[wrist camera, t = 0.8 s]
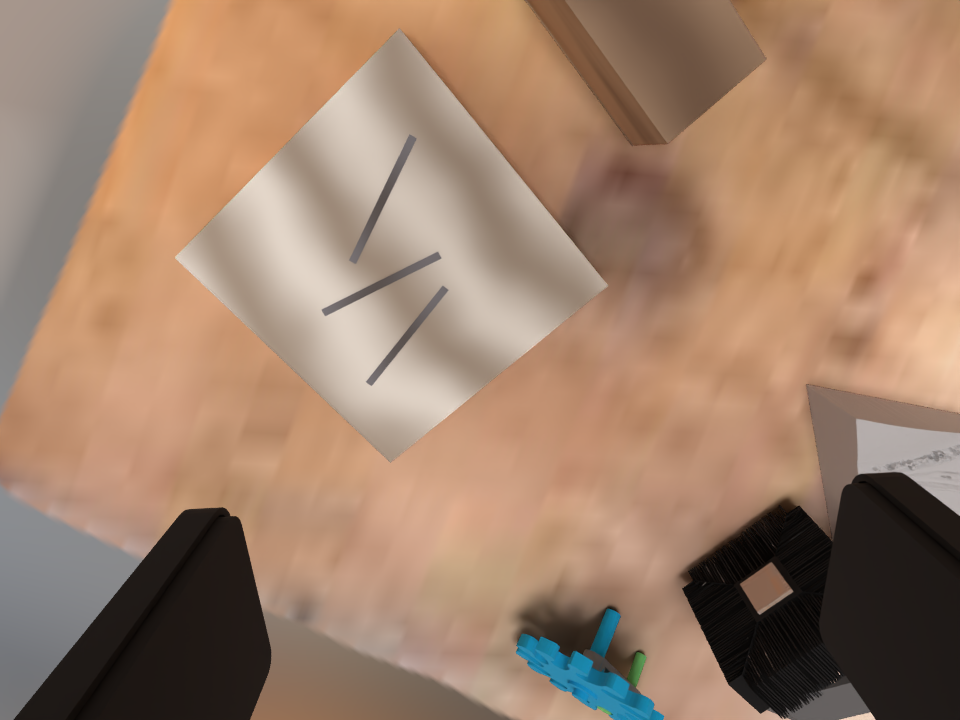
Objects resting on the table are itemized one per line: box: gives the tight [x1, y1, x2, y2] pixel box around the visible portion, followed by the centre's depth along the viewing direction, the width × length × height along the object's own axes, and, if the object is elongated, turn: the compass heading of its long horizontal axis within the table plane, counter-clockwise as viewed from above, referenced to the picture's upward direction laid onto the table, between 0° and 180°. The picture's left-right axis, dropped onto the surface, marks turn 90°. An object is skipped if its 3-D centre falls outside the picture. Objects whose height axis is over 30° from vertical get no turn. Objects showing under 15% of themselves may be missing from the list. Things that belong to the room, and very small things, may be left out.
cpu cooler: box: [682, 506, 870, 720], centre depth 35 cm, size 10×6×10 cm, turn 134°
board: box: [175, 28, 608, 463], centre depth 32 cm, size 16×16×2 cm
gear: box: [516, 609, 664, 720], centre depth 39 cm, size 11×6×10 cm
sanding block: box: [525, 0, 767, 146], centre depth 26 cm, size 5×9×6 cm, turn 41°
